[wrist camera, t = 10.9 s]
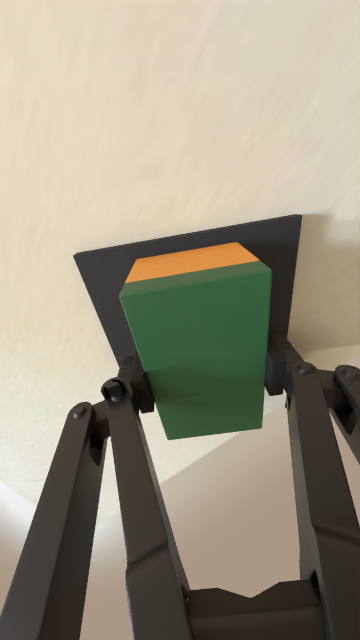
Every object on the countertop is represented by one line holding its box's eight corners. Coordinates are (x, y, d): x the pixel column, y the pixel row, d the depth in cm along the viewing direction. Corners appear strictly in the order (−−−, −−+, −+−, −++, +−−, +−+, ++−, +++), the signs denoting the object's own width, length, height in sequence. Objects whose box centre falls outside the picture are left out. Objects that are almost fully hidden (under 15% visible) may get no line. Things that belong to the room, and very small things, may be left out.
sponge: (136, 259, 15) (118, 295, 10) (237, 241, 15) (273, 269, 9) (168, 379, 21) (167, 440, 16) (239, 369, 21) (262, 428, 16)
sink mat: (296, 213, 15) (302, 215, 14) (280, 362, 22) (283, 367, 22) (76, 252, 16) (72, 255, 15) (129, 383, 23) (128, 389, 22)
